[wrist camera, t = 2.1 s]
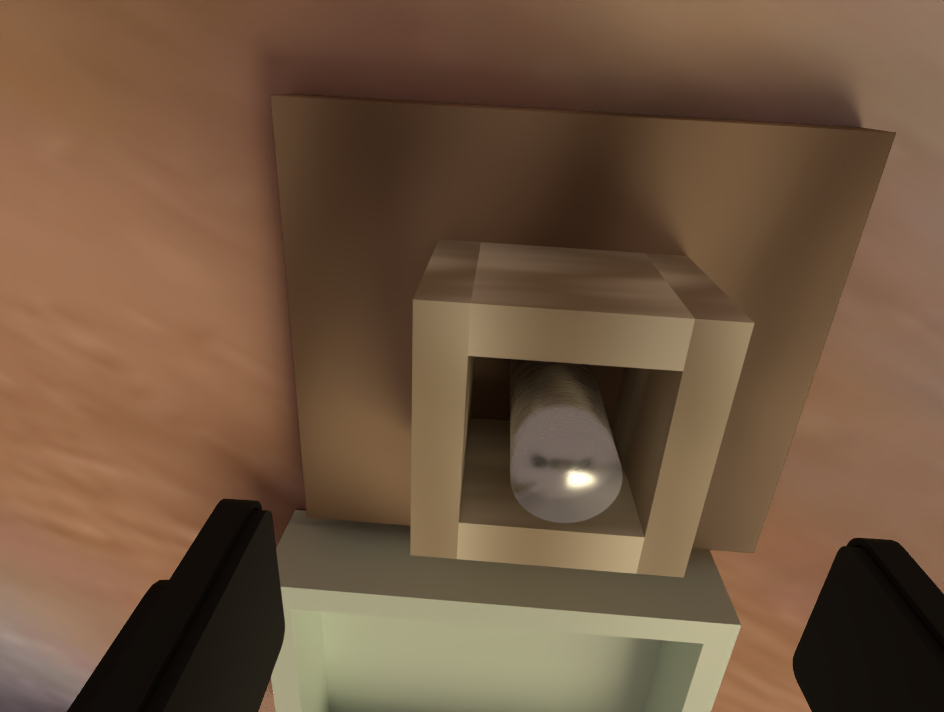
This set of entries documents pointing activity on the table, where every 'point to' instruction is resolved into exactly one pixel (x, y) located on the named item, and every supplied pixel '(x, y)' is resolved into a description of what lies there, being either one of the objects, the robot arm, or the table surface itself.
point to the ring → (581, 342)
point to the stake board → (552, 225)
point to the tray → (488, 630)
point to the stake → (560, 442)
